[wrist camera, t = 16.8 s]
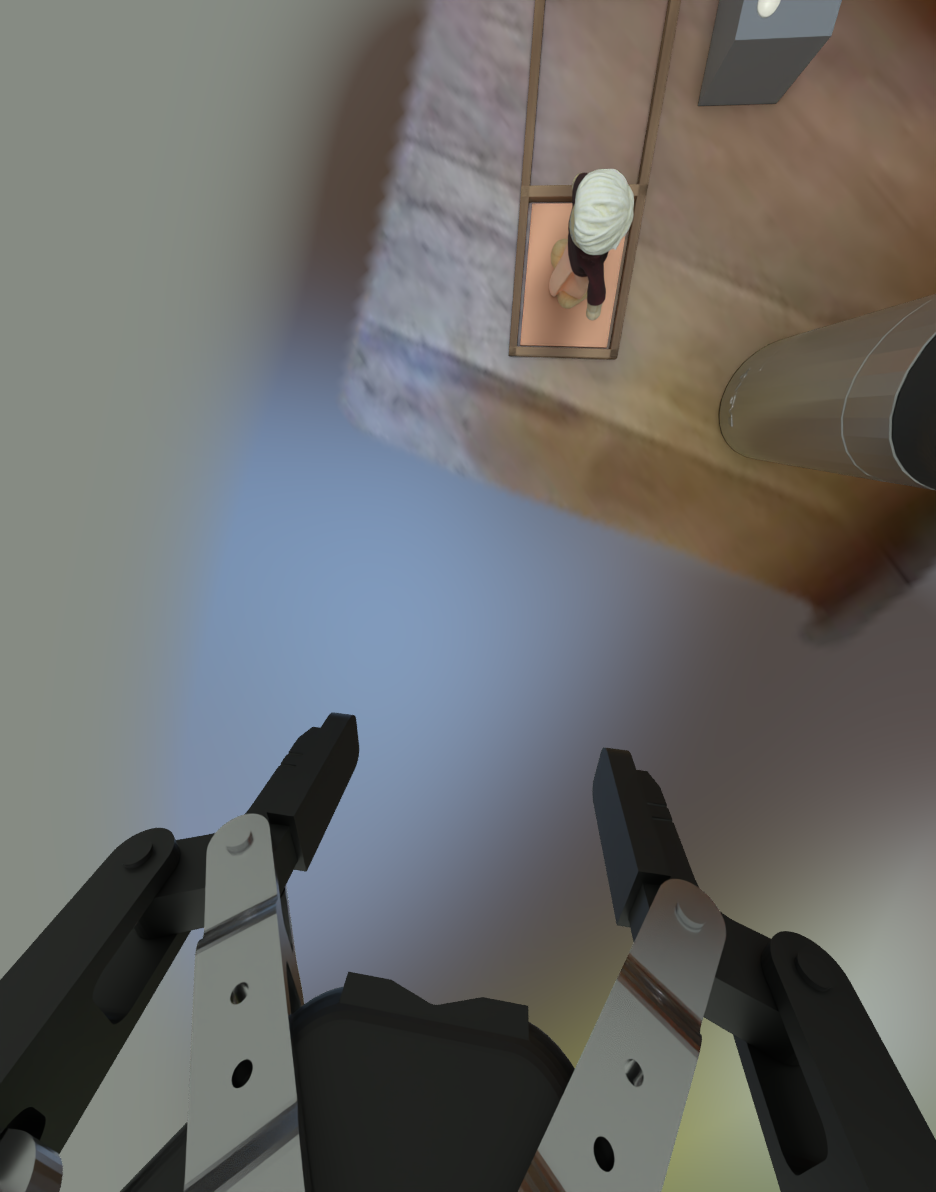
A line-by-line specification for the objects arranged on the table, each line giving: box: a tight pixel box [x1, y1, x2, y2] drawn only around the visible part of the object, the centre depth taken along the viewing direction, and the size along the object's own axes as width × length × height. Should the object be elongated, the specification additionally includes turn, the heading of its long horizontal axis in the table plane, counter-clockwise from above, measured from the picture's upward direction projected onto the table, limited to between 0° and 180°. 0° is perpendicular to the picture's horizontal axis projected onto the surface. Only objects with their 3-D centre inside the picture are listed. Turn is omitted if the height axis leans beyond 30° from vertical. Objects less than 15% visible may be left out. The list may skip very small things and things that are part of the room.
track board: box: [509, 0, 681, 359], centre depth 26 cm, size 9×31×1 cm, turn 178°
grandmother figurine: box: [549, 169, 634, 320], centre depth 25 cm, size 8×4×13 cm, turn 26°
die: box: [698, 0, 842, 106], centre depth 22 cm, size 5×5×5 cm
